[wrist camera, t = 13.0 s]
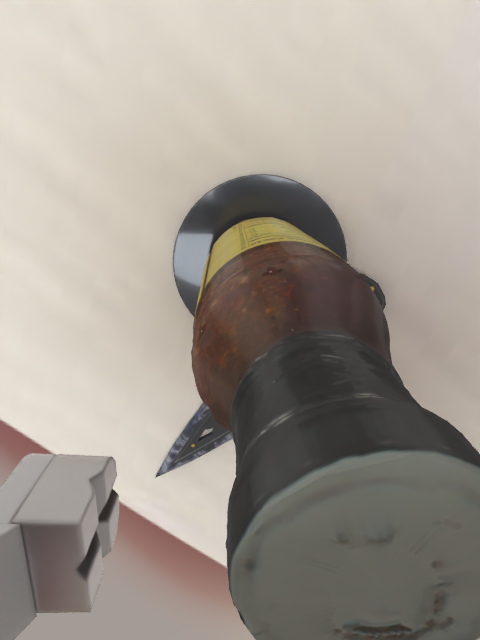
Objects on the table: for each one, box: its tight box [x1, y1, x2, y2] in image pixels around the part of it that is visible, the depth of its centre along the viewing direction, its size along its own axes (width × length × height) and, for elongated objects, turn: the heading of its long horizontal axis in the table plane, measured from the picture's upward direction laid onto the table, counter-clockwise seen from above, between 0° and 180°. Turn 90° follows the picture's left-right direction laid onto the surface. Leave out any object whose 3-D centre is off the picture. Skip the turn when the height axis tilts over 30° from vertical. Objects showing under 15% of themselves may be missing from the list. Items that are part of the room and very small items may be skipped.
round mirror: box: [173, 174, 347, 316], centre depth 24 cm, size 10×10×1 cm
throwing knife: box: [155, 274, 386, 478], centre depth 27 cm, size 4×20×1 cm, turn 135°
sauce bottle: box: [191, 217, 480, 640], centre depth 15 cm, size 7×6×20 cm
